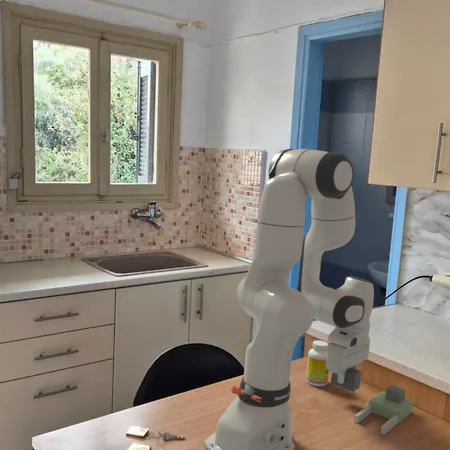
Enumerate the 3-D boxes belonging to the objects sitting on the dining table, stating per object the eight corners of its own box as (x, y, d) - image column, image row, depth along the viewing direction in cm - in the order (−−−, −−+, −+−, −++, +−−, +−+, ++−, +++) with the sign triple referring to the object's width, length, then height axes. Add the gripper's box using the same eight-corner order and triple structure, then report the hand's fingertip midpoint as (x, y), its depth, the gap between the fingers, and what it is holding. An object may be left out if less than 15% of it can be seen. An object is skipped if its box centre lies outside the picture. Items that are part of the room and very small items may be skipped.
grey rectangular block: (359, 388, 147) (361, 371, 146) (353, 392, 144) (355, 374, 143) (337, 379, 151) (339, 363, 151) (330, 383, 148) (332, 366, 148)
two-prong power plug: (385, 435, 132) (387, 413, 131) (353, 421, 138) (355, 400, 137) (411, 412, 146) (414, 392, 145) (381, 400, 151) (383, 381, 150)
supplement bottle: (327, 388, 157) (331, 348, 155) (305, 385, 158) (309, 345, 156) (327, 380, 163) (331, 340, 162) (306, 376, 165) (310, 338, 163)
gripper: (358, 324, 156) (351, 368, 157) (325, 336, 140) (318, 385, 142) (377, 330, 152) (371, 375, 153) (346, 343, 136) (339, 393, 138)
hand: (345, 380), depth 147 cm, fingers closed on grey rectangular block, 4 cm apart
